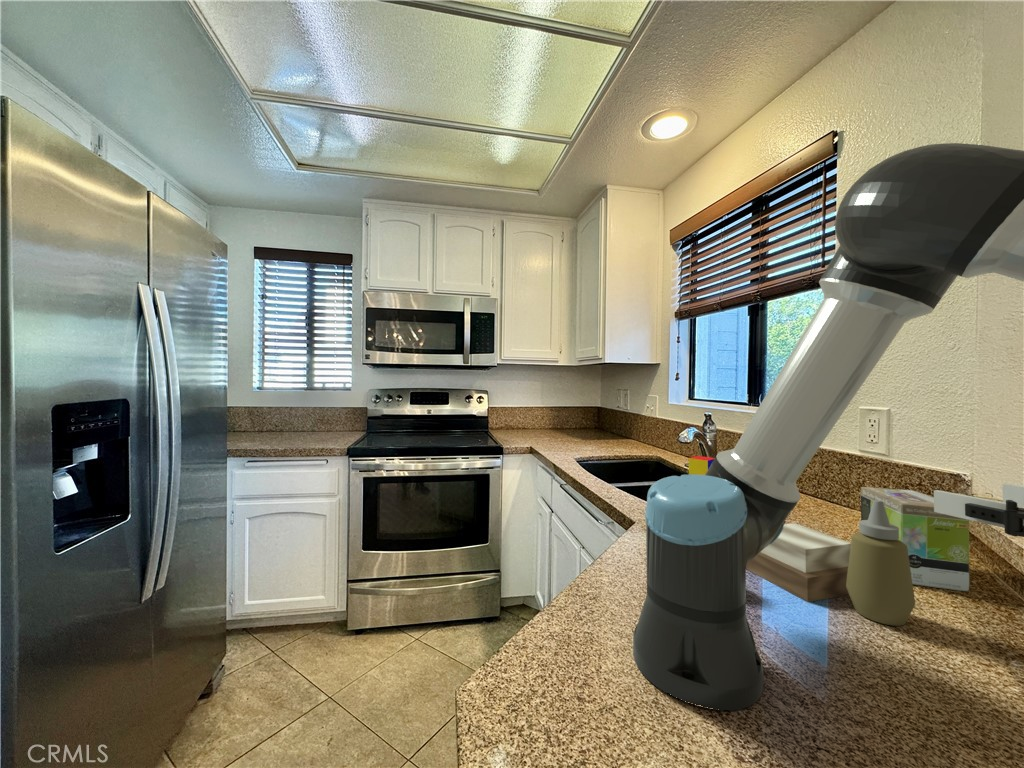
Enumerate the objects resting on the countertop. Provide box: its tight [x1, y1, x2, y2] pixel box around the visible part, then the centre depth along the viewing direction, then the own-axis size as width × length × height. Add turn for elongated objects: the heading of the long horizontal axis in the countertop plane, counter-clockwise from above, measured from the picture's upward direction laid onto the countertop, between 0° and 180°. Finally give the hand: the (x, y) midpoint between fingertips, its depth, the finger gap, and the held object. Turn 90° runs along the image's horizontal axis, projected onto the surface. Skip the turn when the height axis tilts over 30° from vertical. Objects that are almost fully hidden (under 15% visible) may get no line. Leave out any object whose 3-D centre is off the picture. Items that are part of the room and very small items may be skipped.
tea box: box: [860, 486, 970, 592], centre depth 78 cm, size 15×10×15 cm
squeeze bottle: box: [846, 500, 916, 627], centre depth 62 cm, size 8×8×18 cm
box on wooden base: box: [746, 522, 851, 603], centre depth 75 cm, size 14×14×8 cm
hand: (970, 497), depth 52 cm, fingers open, 13 cm apart
